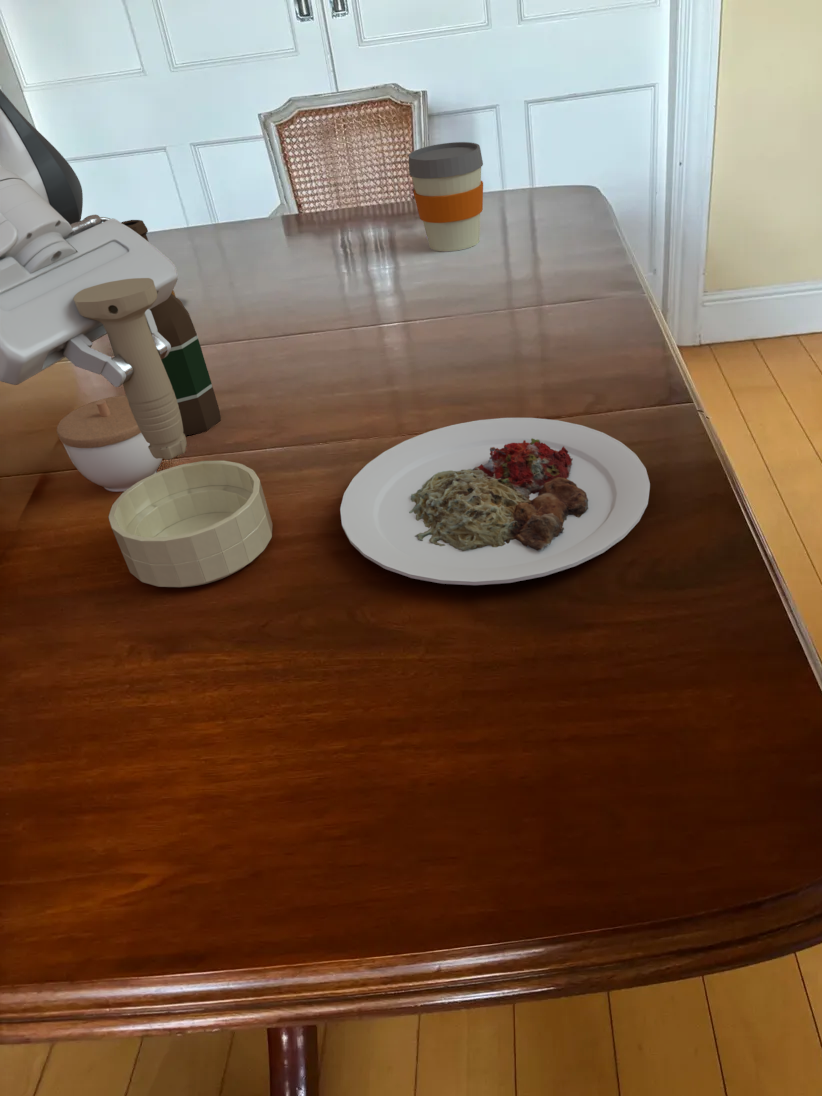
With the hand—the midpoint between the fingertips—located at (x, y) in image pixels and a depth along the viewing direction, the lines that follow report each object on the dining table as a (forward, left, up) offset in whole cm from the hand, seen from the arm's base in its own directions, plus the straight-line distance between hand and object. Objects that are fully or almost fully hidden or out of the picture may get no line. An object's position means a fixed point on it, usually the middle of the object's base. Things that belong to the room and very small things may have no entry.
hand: (145, 367), depth 76 cm
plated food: (+28, -1, -19) cm, 34 cm away
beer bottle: (-5, +30, -19) cm, 36 cm away
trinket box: (-11, +18, -19) cm, 29 cm away
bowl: (-1, 0, -19) cm, 19 cm away
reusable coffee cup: (+36, +87, -19) cm, 96 cm away
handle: (0, 0, -9) cm, 9 cm away
